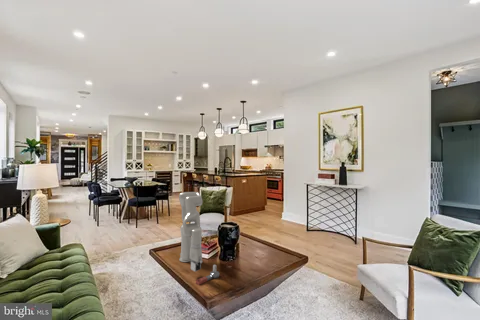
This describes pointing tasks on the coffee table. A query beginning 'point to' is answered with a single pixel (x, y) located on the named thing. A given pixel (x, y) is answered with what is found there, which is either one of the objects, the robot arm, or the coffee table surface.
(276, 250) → the coffee table surface
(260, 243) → the coffee table surface
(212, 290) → the coffee table surface
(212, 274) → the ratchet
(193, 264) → the socket
